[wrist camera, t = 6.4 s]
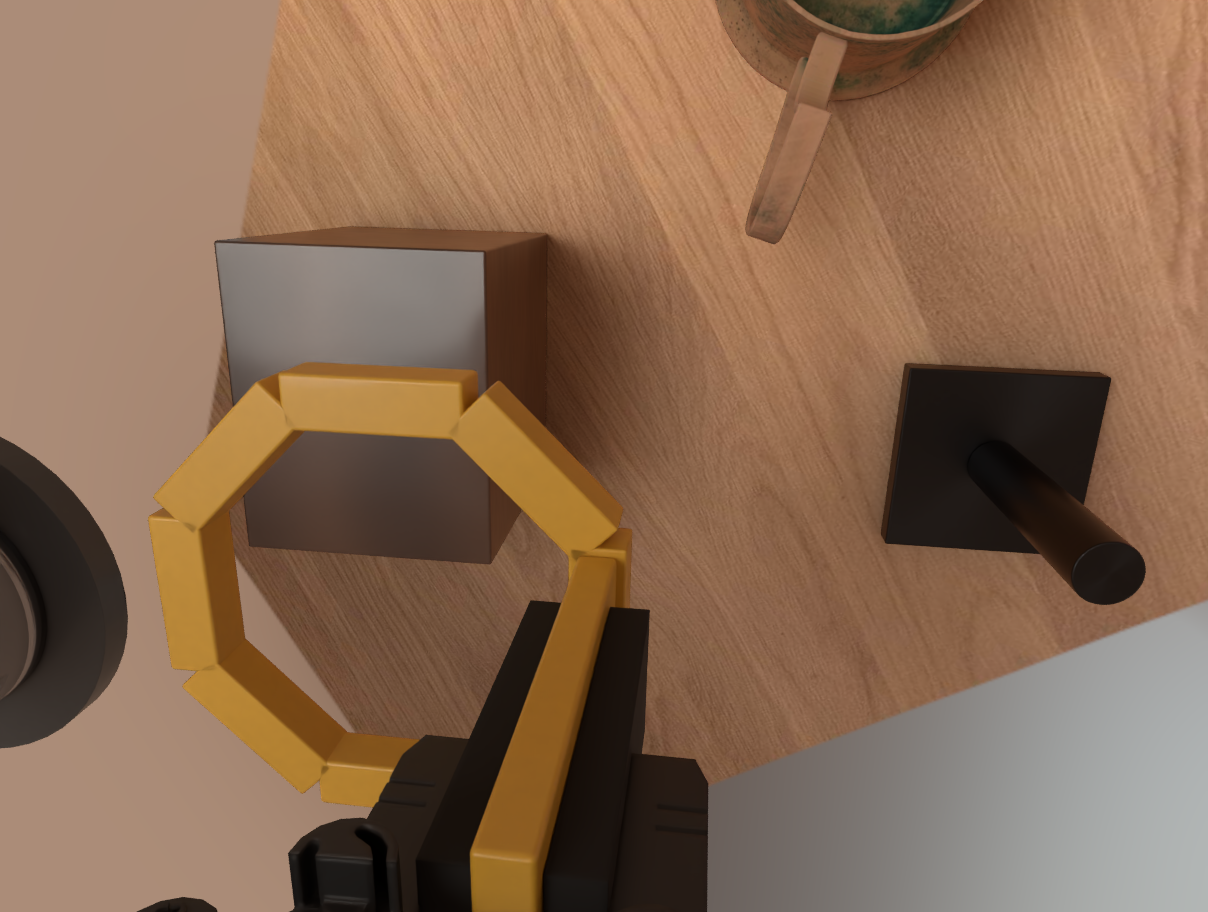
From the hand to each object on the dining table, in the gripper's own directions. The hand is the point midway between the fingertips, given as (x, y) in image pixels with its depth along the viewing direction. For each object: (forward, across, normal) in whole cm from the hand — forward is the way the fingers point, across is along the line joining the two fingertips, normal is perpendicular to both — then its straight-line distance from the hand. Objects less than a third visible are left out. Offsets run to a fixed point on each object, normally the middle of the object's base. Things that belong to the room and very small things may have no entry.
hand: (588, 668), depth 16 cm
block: (+27, -11, +1) cm, 29 cm away
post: (+27, +16, -3) cm, 32 cm away
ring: (+3, -5, 0) cm, 5 cm away
